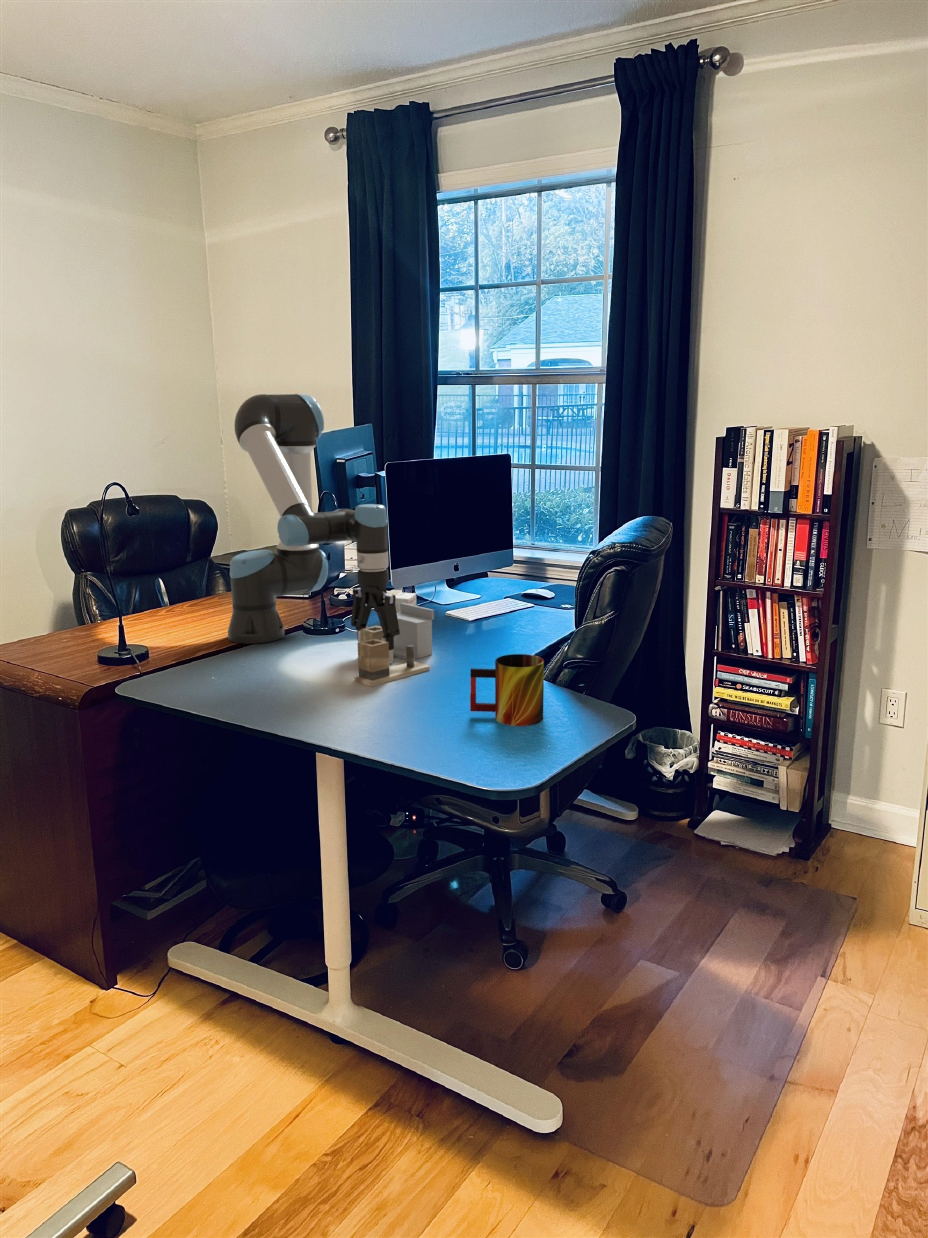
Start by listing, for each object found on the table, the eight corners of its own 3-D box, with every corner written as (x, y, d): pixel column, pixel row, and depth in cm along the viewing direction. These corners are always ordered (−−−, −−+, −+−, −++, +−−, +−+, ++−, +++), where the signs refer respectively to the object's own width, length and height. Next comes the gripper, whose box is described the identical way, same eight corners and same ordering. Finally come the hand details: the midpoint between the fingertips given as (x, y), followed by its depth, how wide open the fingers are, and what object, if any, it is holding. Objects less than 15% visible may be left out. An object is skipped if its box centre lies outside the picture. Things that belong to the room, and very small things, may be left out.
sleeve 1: (361, 660, 223) (360, 629, 221) (377, 656, 226) (376, 625, 224) (374, 664, 219) (373, 632, 217) (390, 660, 222) (389, 628, 221)
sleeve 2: (358, 676, 206) (357, 642, 204) (375, 671, 209) (374, 638, 207) (372, 680, 202) (371, 646, 200) (389, 676, 206) (388, 642, 204)
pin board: (354, 681, 206) (353, 655, 204) (413, 665, 218) (412, 641, 217) (370, 686, 201) (369, 660, 200) (429, 670, 214) (429, 645, 212)
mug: (469, 715, 182) (468, 658, 179) (532, 708, 186) (532, 652, 183) (484, 731, 173) (484, 671, 170) (550, 723, 177) (551, 664, 175)
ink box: (410, 641, 240) (409, 598, 237) (392, 641, 241) (390, 598, 238) (418, 634, 248) (417, 592, 245) (400, 633, 249) (399, 591, 246)
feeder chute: (377, 651, 230) (376, 608, 228) (403, 645, 236) (402, 602, 234) (408, 660, 222) (407, 615, 219) (434, 653, 228) (433, 609, 225)
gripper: (333, 565, 222) (337, 653, 227) (389, 576, 207) (392, 670, 212) (357, 562, 227) (361, 648, 232) (413, 572, 212) (415, 663, 217)
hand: (375, 658), depth 222 cm, fingers open, 9 cm apart
